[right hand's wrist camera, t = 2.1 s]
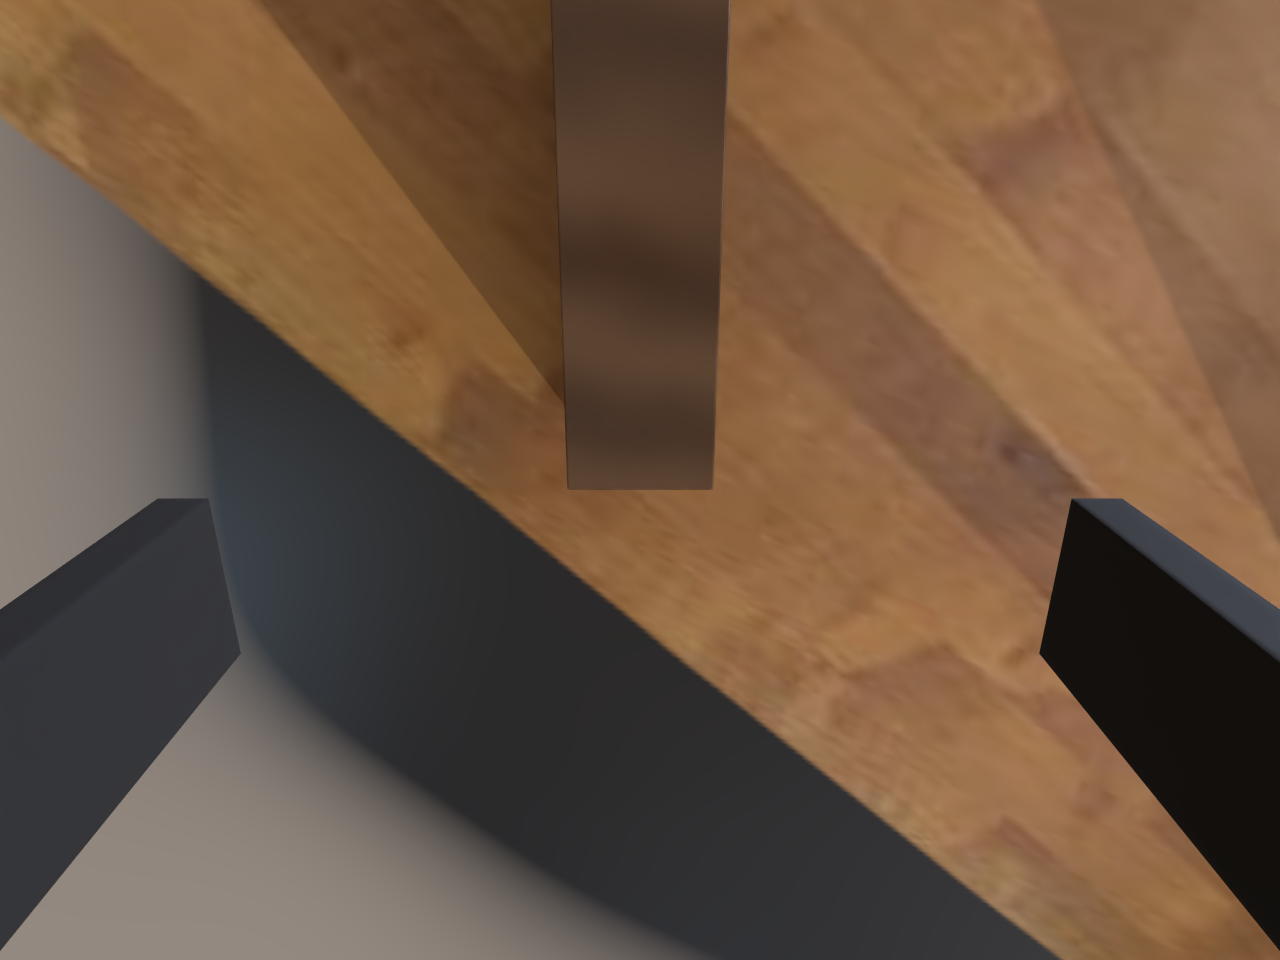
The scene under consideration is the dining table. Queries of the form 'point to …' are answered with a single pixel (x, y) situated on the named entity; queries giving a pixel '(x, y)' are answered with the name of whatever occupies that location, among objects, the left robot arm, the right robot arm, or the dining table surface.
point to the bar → (640, 236)
